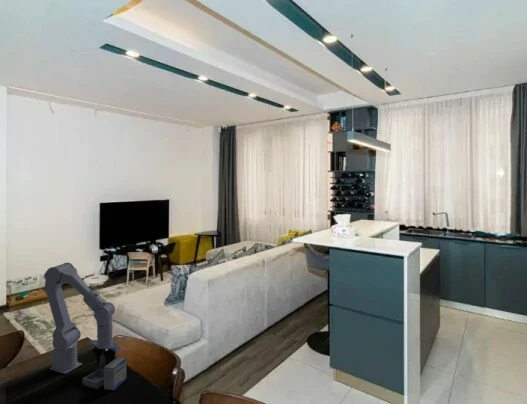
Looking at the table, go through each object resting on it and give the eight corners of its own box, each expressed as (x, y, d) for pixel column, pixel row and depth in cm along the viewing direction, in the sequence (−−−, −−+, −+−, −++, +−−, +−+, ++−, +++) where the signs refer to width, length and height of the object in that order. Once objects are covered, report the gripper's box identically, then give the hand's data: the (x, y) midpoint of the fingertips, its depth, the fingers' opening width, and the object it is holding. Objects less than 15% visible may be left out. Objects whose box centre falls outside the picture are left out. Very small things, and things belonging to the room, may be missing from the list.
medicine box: (113, 391, 122) (113, 368, 121) (103, 389, 123) (103, 367, 122) (126, 379, 129) (126, 357, 129) (116, 377, 130) (116, 356, 130)
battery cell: (97, 370, 135) (97, 353, 135) (105, 366, 139) (105, 348, 138) (104, 373, 133) (104, 355, 133) (112, 368, 137) (112, 350, 137)
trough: (82, 384, 125) (82, 378, 125) (99, 374, 132) (99, 368, 132) (97, 389, 122) (96, 383, 122) (113, 378, 129) (113, 372, 129)
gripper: (125, 332, 136) (125, 363, 137) (100, 326, 142) (100, 357, 142) (112, 339, 130) (112, 372, 130) (85, 333, 135) (86, 365, 136)
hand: (105, 365), depth 136 cm, fingers closed on battery cell, 4 cm apart
